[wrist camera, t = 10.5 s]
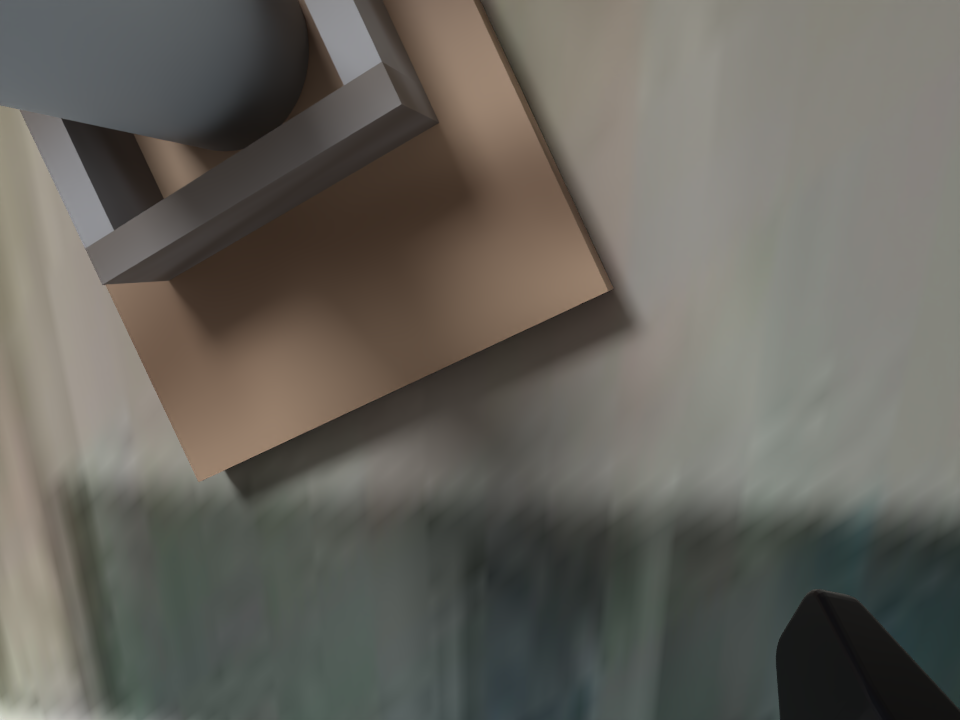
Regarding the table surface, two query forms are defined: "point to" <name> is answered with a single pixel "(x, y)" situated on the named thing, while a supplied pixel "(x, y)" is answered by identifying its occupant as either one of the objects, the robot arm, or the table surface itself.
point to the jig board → (331, 230)
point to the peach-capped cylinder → (157, 65)
